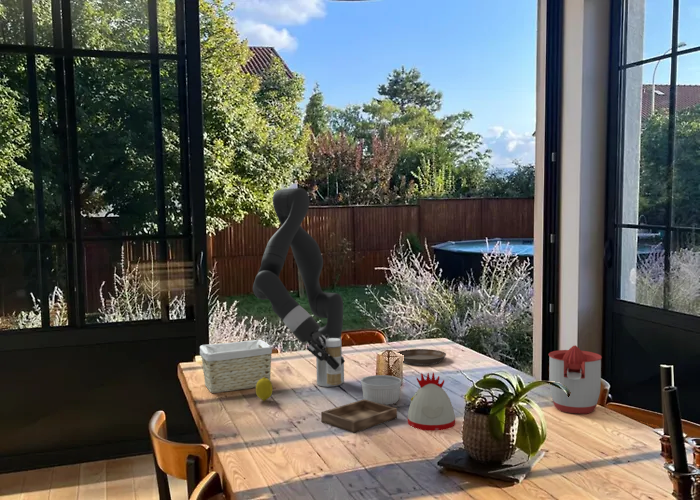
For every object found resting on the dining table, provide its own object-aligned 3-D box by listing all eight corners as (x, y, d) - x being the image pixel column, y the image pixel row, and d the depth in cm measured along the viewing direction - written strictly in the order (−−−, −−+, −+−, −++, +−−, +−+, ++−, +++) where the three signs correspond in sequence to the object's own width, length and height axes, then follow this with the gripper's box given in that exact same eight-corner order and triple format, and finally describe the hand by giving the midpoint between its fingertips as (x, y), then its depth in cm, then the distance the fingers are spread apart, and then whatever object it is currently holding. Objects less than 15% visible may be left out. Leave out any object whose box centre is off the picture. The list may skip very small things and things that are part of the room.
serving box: (364, 408, 207) (364, 399, 207) (397, 418, 197) (396, 408, 196) (321, 421, 194) (321, 412, 194) (354, 433, 184) (353, 422, 184)
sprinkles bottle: (337, 380, 199) (337, 337, 198) (344, 384, 194) (343, 339, 194) (324, 382, 197) (323, 338, 196) (330, 386, 193) (329, 341, 192)
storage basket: (207, 395, 225) (206, 353, 224) (199, 384, 240) (198, 344, 239) (274, 387, 234) (273, 346, 233) (263, 376, 249) (262, 338, 248)
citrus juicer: (546, 415, 196) (546, 350, 195) (549, 399, 213) (549, 339, 212) (602, 420, 191) (602, 353, 190) (601, 403, 207) (601, 341, 206)
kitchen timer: (406, 415, 199) (406, 367, 198) (451, 415, 199) (451, 366, 198) (409, 431, 185) (408, 379, 184) (457, 430, 185) (457, 378, 184)
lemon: (269, 403, 214) (269, 379, 213) (253, 403, 215) (253, 379, 214) (274, 398, 219) (274, 375, 218) (259, 398, 220) (258, 374, 220)
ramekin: (409, 400, 215) (409, 379, 215) (384, 409, 206) (383, 387, 205) (379, 392, 224) (378, 372, 224) (353, 401, 215) (352, 380, 214)
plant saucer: (397, 355, 282) (397, 347, 282) (445, 356, 279) (445, 348, 279) (394, 366, 261) (394, 358, 261) (446, 367, 259) (446, 359, 259)
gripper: (300, 319, 190) (340, 363, 187) (317, 311, 203) (355, 352, 200) (284, 337, 192) (323, 380, 189) (302, 327, 205) (339, 368, 202)
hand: (339, 365), depth 195 cm, fingers closed on sprinkles bottle, 4 cm apart
